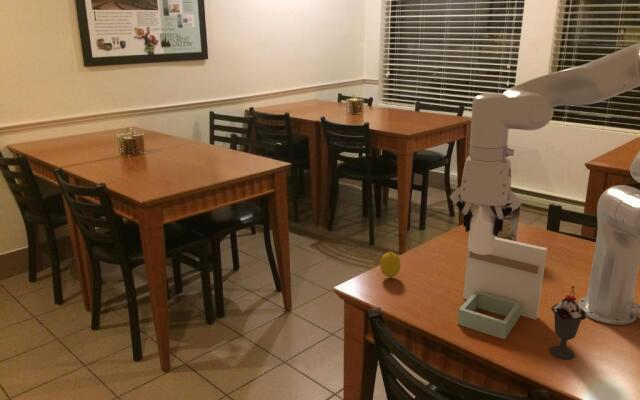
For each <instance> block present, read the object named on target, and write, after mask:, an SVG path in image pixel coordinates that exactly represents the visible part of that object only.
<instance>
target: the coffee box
mask: <svg viewBox="0 0 640 400" xmlns="http://www.w3.org/2000/svg"><path fill="white" fill-rule="evenodd" d="M511 204H512V202H511V201H510V200H508V202H507V204H506V205H505V206H504V209H505V208H506V207H507V206H509V205H511ZM490 208H491V210H492V211H493V213H494V215H495V216H496V217H497V213H496V209H495V206H490ZM520 211H521V206H520V207H518V208H517V209H515V210H513V211H512V212H511V213H509V214H508V215H507V216H505V217H504V218H503V229H502V232H501V231H499V234H498V236H495V237H498V238H503V239H507V240H512V241H516V242H517V236H518V235H517V234H518V227H519V219H520Z"/></svg>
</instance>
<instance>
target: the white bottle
mask: <svg viewBox="0 0 640 400" xmlns="http://www.w3.org/2000/svg"><path fill="white" fill-rule="evenodd" d="M477 205H478V206H477V208H476V209H475V210H474V212H472V217H471V219H470V230H469V232H468V236H469V250H470V251H471V252H473V253H475V254H480V255H488V254H491V253H493V252H494V243H495V235H494V227H495V219H496V216H495V215H494V213H493V211H492V210H491V208H490V206H488V205H480V204H477Z"/></svg>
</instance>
